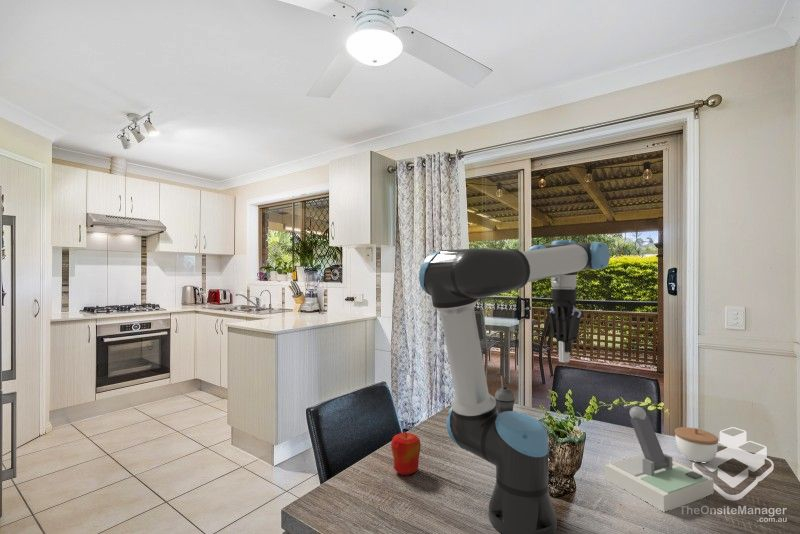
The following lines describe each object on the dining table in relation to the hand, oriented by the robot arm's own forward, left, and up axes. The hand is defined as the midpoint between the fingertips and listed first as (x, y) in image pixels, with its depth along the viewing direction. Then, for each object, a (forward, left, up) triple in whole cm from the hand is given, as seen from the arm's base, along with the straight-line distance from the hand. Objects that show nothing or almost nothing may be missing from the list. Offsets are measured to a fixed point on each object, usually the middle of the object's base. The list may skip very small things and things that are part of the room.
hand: (564, 361), depth 123 cm
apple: (-30, +43, -30) cm, 60 cm away
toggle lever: (-11, -23, -25) cm, 36 cm away
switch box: (-11, -23, -29) cm, 39 cm away
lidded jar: (+12, -38, -30) cm, 50 cm away
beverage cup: (+11, +20, -30) cm, 37 cm away
